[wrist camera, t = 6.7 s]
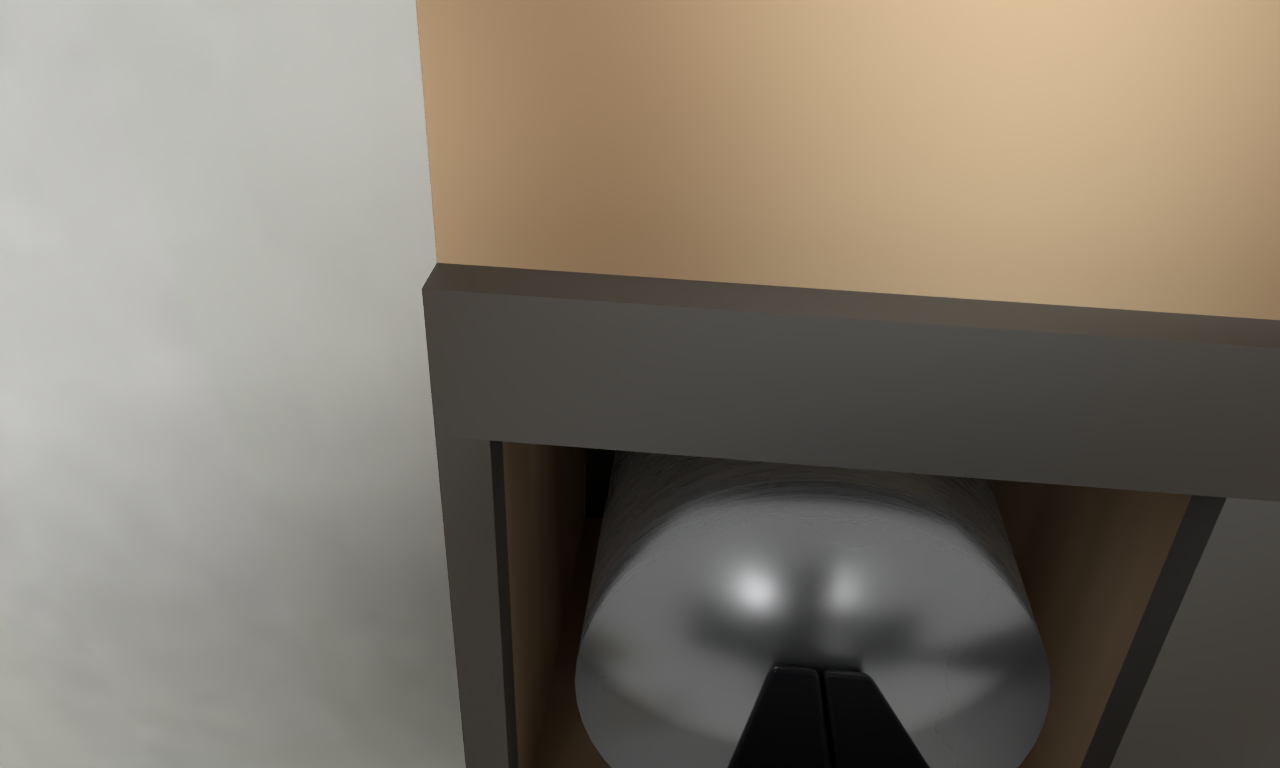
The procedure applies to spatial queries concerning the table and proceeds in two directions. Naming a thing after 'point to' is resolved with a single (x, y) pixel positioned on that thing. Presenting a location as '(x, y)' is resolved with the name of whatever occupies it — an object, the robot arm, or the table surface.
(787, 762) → the robot arm
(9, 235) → the table surface
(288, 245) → the table surface
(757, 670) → the steel plunger
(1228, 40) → the socket board
